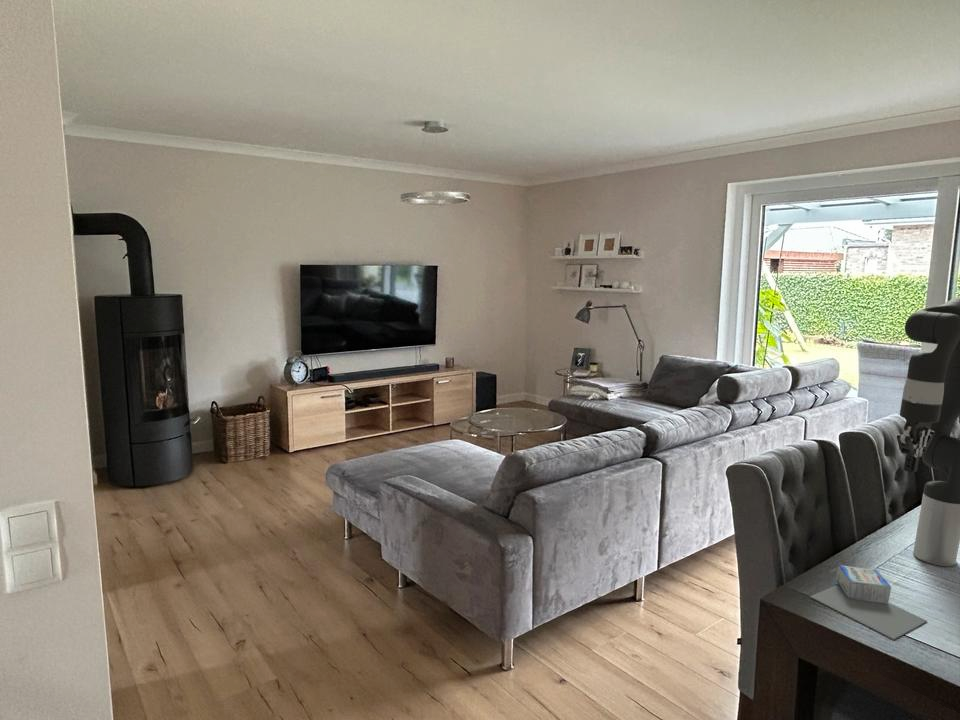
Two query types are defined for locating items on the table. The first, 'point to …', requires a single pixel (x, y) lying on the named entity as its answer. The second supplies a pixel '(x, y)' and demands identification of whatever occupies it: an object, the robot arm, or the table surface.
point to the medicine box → (863, 584)
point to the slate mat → (870, 613)
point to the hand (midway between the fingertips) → (910, 471)
